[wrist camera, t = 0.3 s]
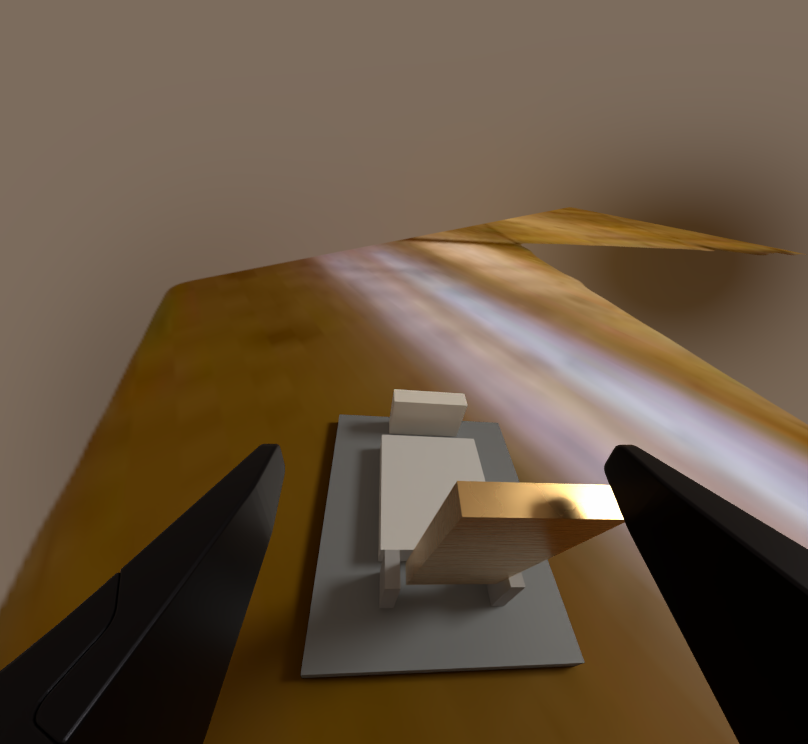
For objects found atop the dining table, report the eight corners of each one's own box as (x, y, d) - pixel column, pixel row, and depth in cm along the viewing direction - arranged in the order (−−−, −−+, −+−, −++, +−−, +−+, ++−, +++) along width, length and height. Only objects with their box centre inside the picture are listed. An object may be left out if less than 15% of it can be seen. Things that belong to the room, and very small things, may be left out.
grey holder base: (575, 665, 18) (627, 647, 14) (302, 677, 16) (292, 660, 13) (494, 429, 31) (512, 392, 27) (339, 422, 29) (339, 381, 26)
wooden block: (496, 583, 17) (630, 519, 9) (405, 584, 16) (462, 517, 8) (492, 562, 18) (613, 485, 10) (405, 563, 17) (456, 480, 9)
